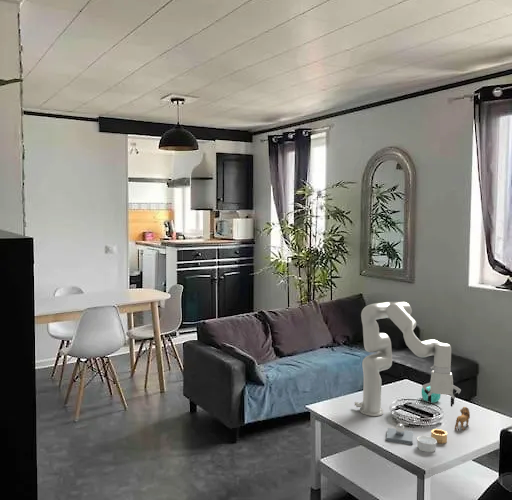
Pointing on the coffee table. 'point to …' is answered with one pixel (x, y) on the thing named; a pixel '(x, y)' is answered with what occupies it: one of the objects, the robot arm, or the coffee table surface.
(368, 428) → the coffee table surface
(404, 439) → the stand base
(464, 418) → the lion figurine
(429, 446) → the ramekin
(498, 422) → the coffee table surface
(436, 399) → the decorative dice
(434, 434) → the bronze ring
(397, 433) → the steel post
